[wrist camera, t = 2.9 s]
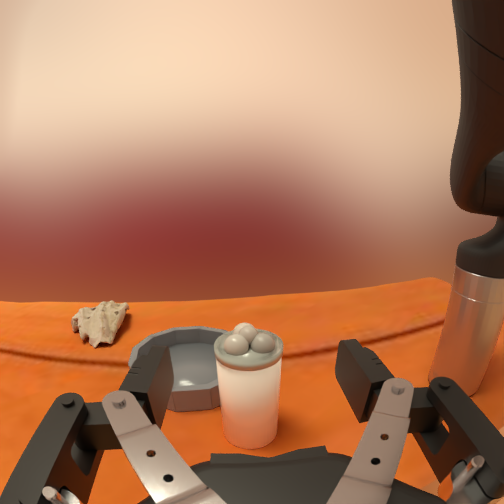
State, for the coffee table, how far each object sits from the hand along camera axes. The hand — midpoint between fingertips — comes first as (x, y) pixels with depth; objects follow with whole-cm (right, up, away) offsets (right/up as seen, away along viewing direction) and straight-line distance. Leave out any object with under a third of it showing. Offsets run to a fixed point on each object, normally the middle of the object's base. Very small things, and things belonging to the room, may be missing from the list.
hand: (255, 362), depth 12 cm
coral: (-31, -11, +38) cm, 50 cm away
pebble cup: (0, -15, +15) cm, 21 cm away
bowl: (-9, -13, +26) cm, 30 cm away
